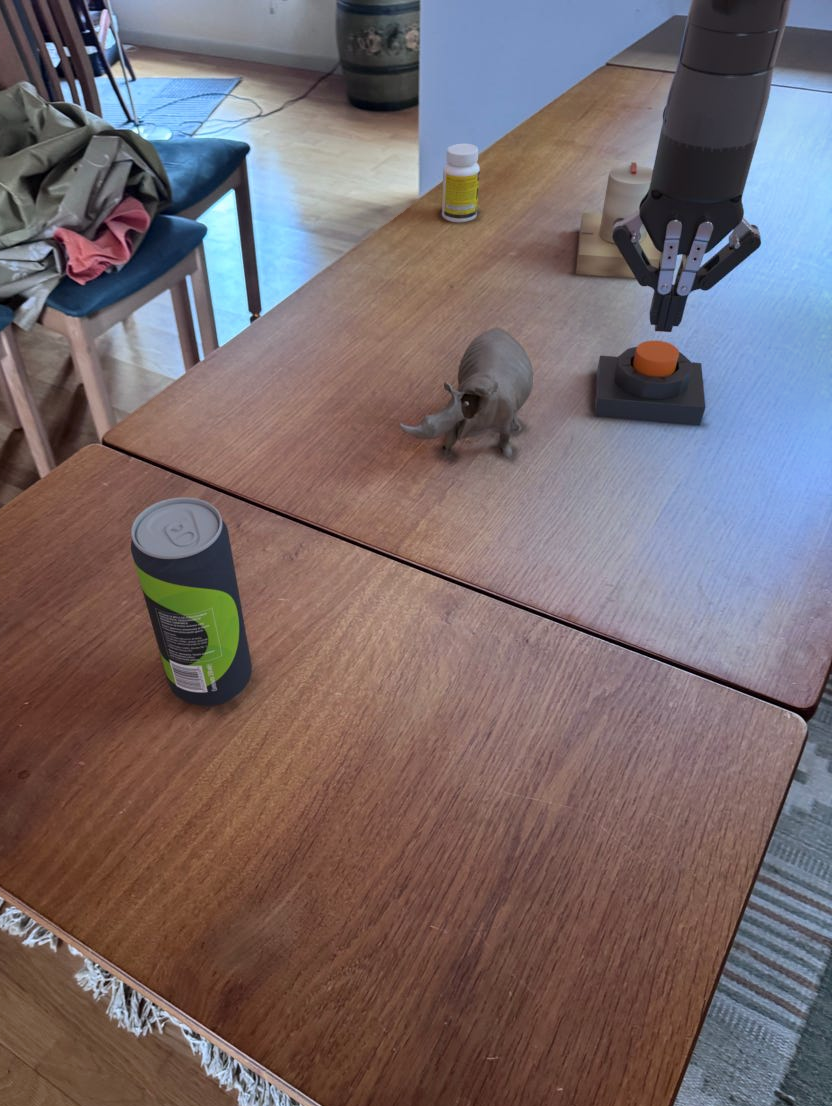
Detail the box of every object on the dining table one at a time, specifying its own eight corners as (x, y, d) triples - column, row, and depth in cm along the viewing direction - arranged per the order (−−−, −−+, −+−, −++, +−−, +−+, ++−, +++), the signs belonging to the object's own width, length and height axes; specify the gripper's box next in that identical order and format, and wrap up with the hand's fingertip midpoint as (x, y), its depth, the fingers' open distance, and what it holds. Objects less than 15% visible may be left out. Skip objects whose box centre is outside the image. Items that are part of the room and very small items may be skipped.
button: (674, 358, 89) (678, 341, 88) (675, 379, 87) (680, 363, 85) (632, 354, 90) (636, 338, 89) (632, 376, 87) (636, 360, 86)
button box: (696, 382, 93) (706, 346, 90) (699, 426, 87) (710, 390, 85) (596, 374, 94) (602, 338, 91) (594, 417, 89) (601, 381, 86)
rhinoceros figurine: (568, 376, 89) (535, 294, 76) (519, 504, 89) (476, 444, 75) (496, 362, 93) (452, 282, 80) (448, 486, 92) (395, 425, 79)
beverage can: (268, 685, 67) (244, 531, 56) (195, 726, 65) (154, 573, 54) (226, 636, 71) (196, 482, 60) (155, 673, 68) (109, 519, 57)
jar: (646, 246, 108) (659, 181, 103) (598, 243, 109) (609, 179, 104) (645, 226, 112) (658, 163, 107) (599, 223, 113) (609, 161, 107)
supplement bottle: (482, 220, 121) (487, 152, 114) (448, 225, 120) (451, 158, 114) (468, 206, 124) (472, 139, 118) (436, 211, 123) (438, 145, 117)
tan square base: (659, 236, 116) (663, 215, 114) (661, 280, 108) (666, 258, 106) (579, 232, 117) (582, 211, 115) (575, 275, 109) (579, 253, 107)
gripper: (625, 140, 71) (589, 342, 84) (804, 147, 69) (739, 354, 82) (626, 107, 76) (592, 303, 89) (792, 113, 74) (733, 313, 87)
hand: (663, 327), depth 85 cm, fingers closed
